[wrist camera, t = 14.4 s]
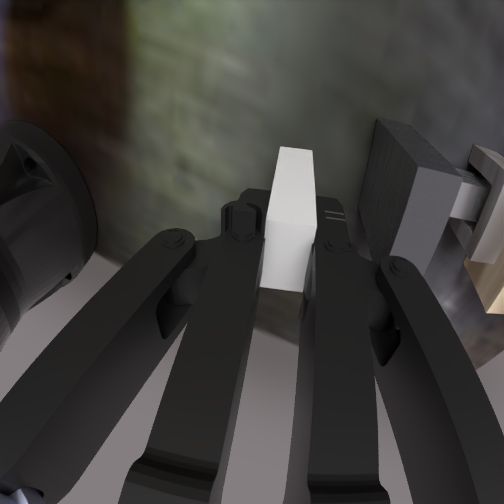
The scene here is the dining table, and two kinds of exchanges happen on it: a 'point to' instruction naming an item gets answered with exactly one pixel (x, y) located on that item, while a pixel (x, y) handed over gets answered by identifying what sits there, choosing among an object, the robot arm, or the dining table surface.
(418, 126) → the dining table surface
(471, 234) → the socket block
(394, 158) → the pin
